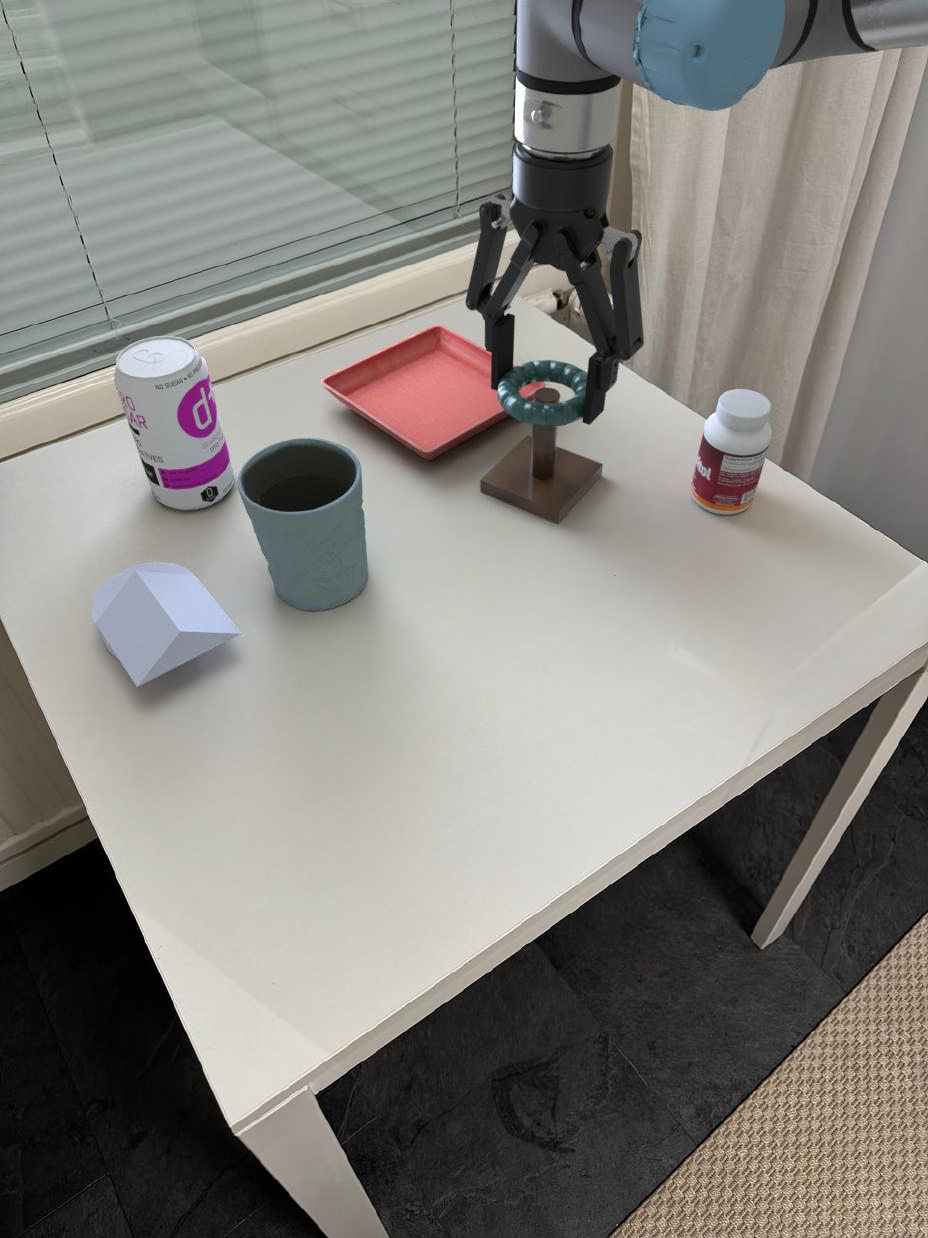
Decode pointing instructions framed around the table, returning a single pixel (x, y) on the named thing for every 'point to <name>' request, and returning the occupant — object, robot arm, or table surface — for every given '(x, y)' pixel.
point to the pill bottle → (732, 452)
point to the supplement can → (174, 421)
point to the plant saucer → (425, 390)
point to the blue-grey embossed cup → (308, 520)
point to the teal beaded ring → (538, 411)
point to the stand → (542, 472)
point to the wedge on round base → (158, 619)
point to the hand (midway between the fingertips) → (546, 399)
